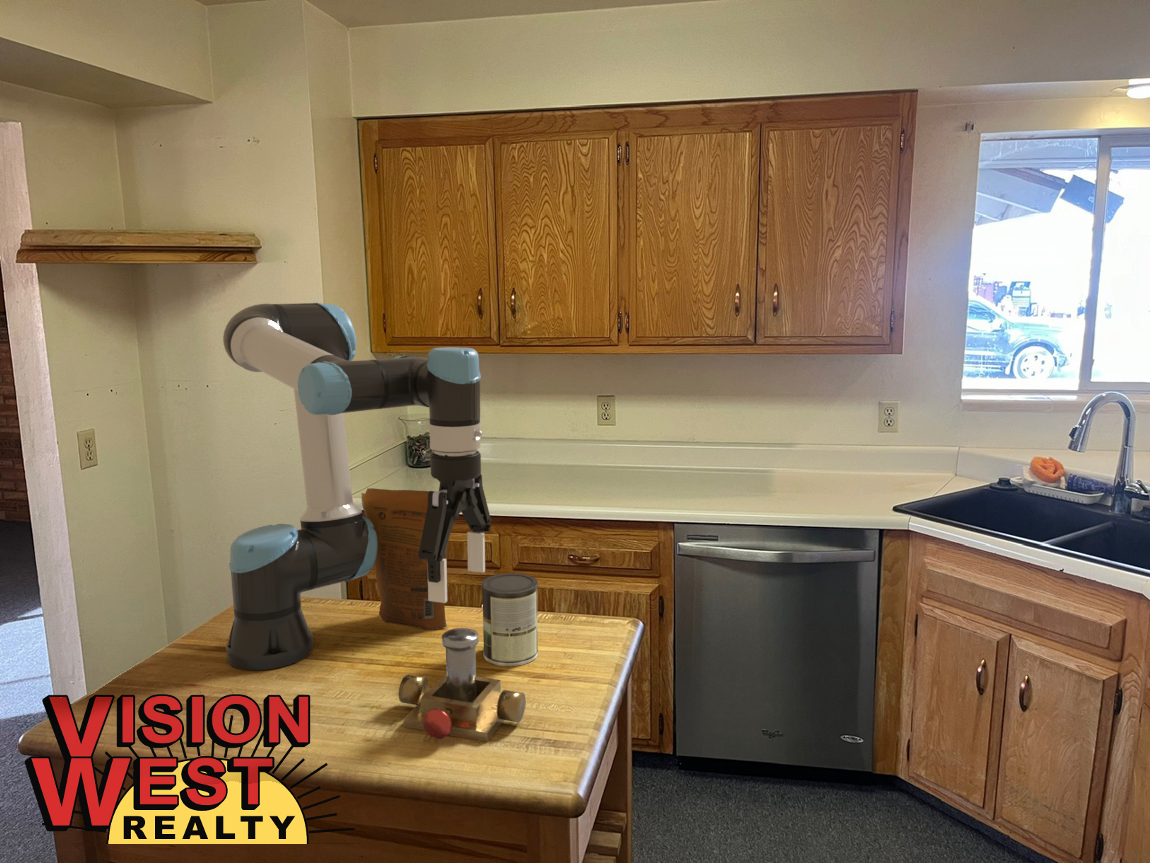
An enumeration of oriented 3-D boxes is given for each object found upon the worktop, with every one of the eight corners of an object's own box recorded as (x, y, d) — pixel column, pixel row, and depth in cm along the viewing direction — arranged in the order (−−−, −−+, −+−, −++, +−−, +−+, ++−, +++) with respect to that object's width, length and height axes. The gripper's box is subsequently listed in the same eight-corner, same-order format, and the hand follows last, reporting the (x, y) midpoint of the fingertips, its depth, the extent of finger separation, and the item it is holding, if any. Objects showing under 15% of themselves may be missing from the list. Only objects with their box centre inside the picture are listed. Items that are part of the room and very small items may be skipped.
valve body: (378, 732, 124) (376, 701, 123) (423, 689, 138) (422, 660, 137) (499, 754, 118) (498, 721, 117) (534, 707, 132) (533, 677, 131)
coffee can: (471, 656, 150) (469, 583, 148) (510, 638, 158) (509, 569, 156) (511, 672, 144) (510, 596, 142) (549, 652, 152) (549, 580, 150)
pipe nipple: (437, 712, 127) (435, 640, 125) (453, 695, 133) (452, 626, 130) (470, 717, 126) (469, 644, 124) (485, 700, 131) (484, 630, 129)
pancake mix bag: (440, 636, 158) (439, 495, 155) (360, 621, 166) (358, 486, 162) (458, 625, 165) (458, 489, 161) (380, 610, 172) (379, 480, 168)
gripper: (440, 470, 109) (443, 619, 113) (510, 438, 133) (511, 562, 136) (390, 466, 112) (395, 612, 115) (468, 435, 135) (470, 557, 139)
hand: (458, 585), depth 126 cm, fingers open, 13 cm apart
